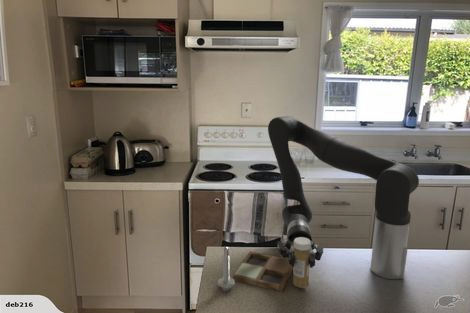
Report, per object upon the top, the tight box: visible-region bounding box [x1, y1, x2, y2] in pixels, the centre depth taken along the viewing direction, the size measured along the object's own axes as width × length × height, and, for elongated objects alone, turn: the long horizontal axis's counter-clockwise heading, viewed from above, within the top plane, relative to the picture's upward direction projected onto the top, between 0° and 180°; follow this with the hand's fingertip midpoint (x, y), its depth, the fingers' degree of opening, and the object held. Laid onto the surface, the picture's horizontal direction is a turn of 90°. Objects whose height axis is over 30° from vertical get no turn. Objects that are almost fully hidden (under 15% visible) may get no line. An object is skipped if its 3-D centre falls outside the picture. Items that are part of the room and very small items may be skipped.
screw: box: [217, 246, 236, 292], centre depth 95 cm, size 13×5×5 cm
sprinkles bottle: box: [292, 237, 311, 289], centre depth 95 cm, size 5×5×13 cm
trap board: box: [232, 251, 293, 293], centre depth 104 cm, size 15×15×2 cm
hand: (302, 263), depth 92 cm, fingers closed on sprinkles bottle, 4 cm apart
